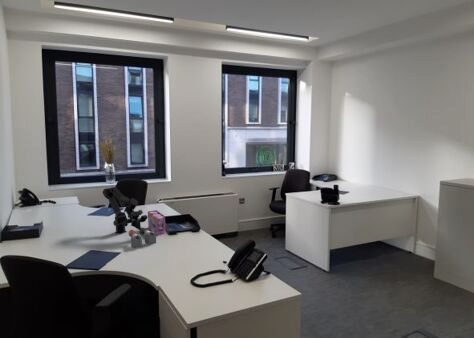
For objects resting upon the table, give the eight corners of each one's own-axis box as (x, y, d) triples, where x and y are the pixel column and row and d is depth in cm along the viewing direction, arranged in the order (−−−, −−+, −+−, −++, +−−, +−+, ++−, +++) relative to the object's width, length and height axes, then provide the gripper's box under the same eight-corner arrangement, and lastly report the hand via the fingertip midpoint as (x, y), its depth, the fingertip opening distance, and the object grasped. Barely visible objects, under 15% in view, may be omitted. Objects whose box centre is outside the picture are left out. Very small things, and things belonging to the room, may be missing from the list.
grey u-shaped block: (144, 243, 261) (144, 233, 260) (151, 241, 265) (151, 231, 264) (149, 244, 257) (148, 234, 256) (156, 242, 262) (155, 232, 261)
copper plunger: (128, 237, 260) (128, 230, 260) (135, 235, 263) (135, 229, 262) (132, 240, 253) (132, 233, 252) (139, 239, 256) (139, 232, 255)
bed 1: (131, 246, 255) (130, 235, 254) (139, 244, 258) (139, 234, 257) (133, 248, 250) (133, 237, 249) (142, 246, 254) (141, 236, 253)
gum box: (166, 233, 284) (165, 216, 282) (156, 235, 280) (155, 218, 278) (157, 225, 304) (156, 210, 302) (147, 227, 300) (147, 211, 299)
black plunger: (139, 234, 265) (139, 228, 265) (145, 233, 269) (144, 226, 268) (146, 237, 259) (146, 230, 259) (152, 235, 263) (152, 229, 263)
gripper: (123, 209, 263) (133, 226, 257) (145, 204, 277) (155, 221, 271) (118, 217, 269) (127, 235, 263) (140, 213, 283) (149, 229, 277)
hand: (140, 229), depth 268 cm, fingers closed
